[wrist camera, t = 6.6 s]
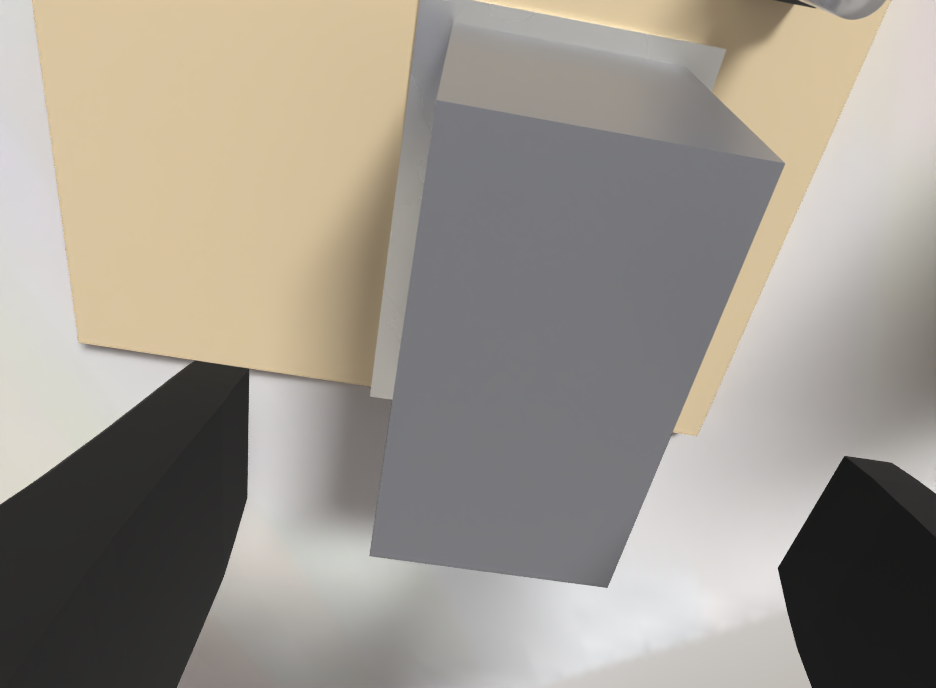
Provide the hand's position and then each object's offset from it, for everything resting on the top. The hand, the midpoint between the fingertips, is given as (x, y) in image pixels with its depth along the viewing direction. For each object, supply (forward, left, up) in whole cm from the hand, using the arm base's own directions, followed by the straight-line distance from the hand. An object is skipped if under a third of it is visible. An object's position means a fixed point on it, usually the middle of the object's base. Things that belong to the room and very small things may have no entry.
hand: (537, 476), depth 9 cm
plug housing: (0, 0, -7) cm, 7 cm away
